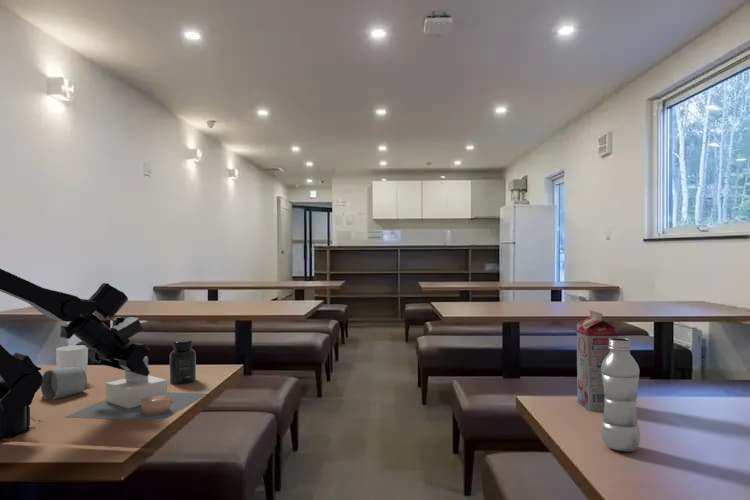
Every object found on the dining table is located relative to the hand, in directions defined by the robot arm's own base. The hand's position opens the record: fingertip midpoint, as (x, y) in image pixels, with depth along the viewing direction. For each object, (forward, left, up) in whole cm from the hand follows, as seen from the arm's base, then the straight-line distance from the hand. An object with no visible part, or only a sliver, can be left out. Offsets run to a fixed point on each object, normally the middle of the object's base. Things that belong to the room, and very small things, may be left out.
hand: (142, 372), depth 125 cm
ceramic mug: (+1, +24, -7) cm, 25 cm away
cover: (-1, +1, -6) cm, 6 cm away
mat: (-5, -3, -7) cm, 9 cm away
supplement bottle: (+17, -1, -7) cm, 18 cm away
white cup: (+14, +31, -7) cm, 34 cm away
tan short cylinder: (-9, -9, -6) cm, 15 cm away
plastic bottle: (-17, -106, -7) cm, 108 cm away
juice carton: (+9, -109, -7) cm, 110 cm away
